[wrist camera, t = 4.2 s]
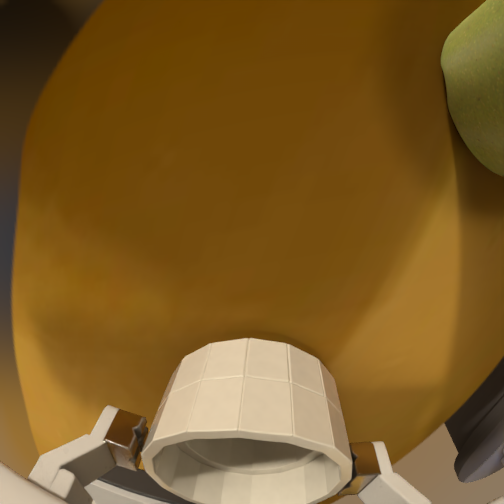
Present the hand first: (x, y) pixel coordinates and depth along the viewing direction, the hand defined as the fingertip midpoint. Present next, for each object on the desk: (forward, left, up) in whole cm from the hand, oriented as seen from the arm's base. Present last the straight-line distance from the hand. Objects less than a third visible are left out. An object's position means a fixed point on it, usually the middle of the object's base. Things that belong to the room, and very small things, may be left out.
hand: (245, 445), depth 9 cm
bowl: (0, 0, -3) cm, 3 cm away
